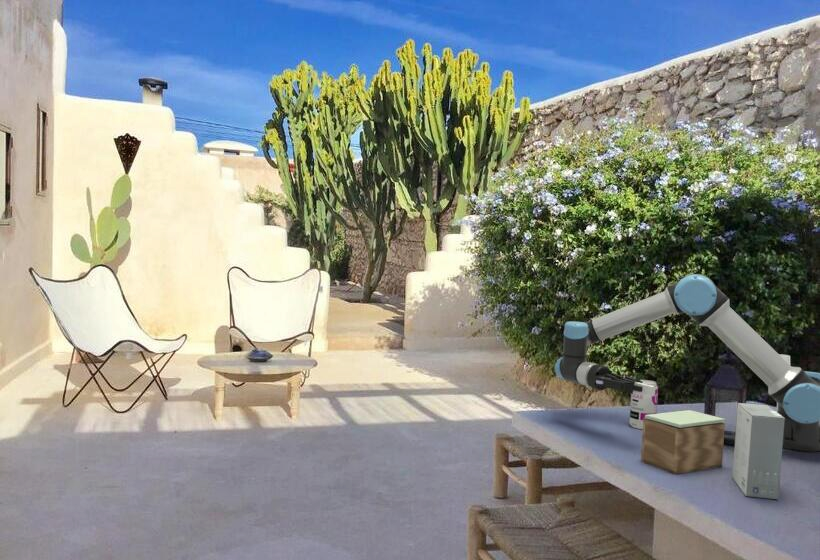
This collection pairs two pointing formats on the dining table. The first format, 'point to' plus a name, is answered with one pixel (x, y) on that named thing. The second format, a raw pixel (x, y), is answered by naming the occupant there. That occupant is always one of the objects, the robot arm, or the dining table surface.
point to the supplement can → (642, 406)
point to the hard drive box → (758, 450)
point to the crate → (682, 446)
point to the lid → (685, 418)
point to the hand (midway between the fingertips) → (653, 391)
